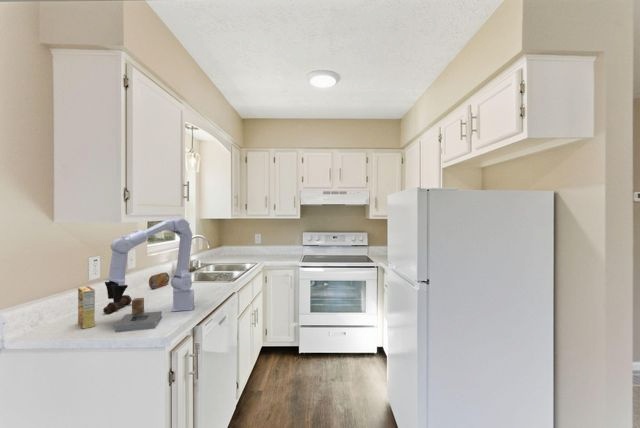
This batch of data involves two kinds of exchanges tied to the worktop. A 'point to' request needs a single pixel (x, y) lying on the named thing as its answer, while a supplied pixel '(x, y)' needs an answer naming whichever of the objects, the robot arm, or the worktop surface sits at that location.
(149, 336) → the worktop surface
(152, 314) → the socket plate
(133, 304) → the block
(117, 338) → the worktop surface
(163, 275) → the brown oval slab
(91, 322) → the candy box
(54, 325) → the worktop surface
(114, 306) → the dark brown dumbbell shape
